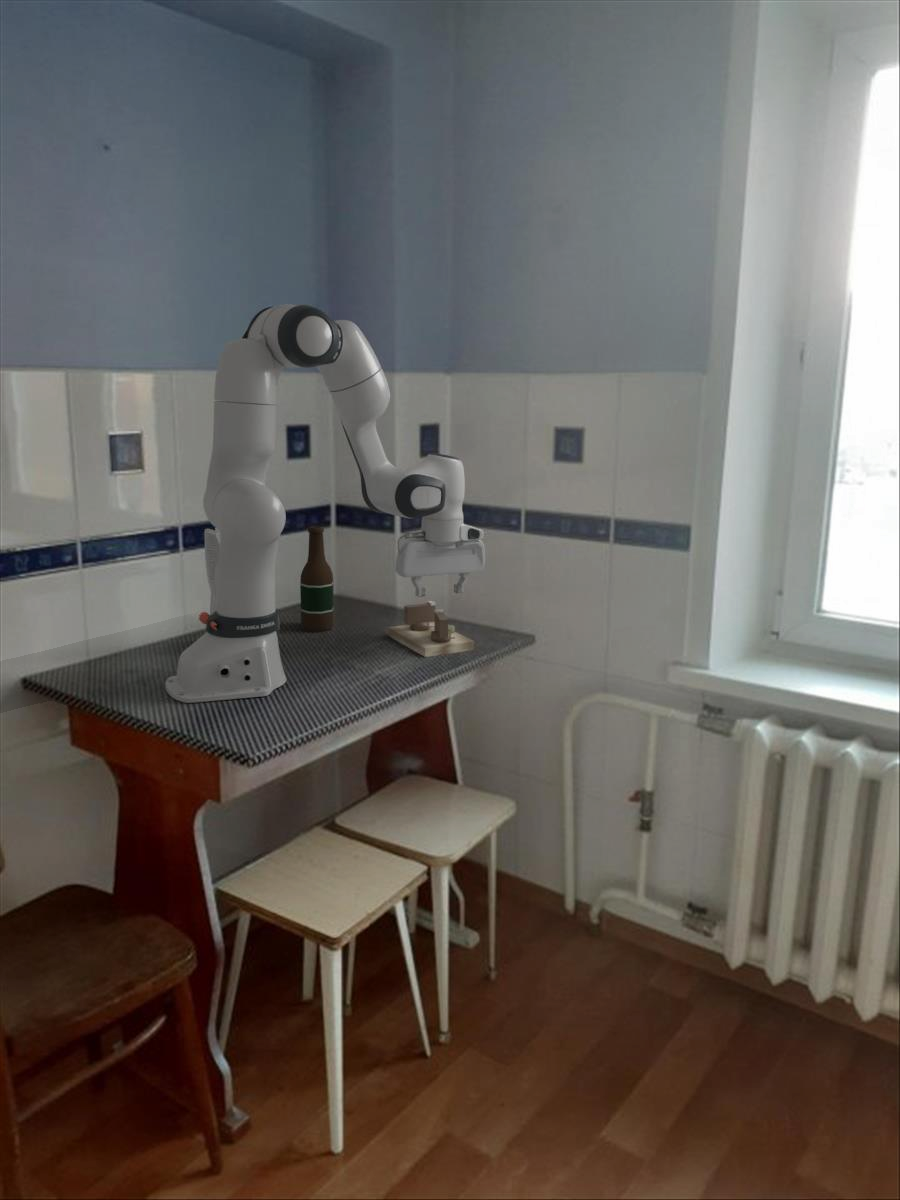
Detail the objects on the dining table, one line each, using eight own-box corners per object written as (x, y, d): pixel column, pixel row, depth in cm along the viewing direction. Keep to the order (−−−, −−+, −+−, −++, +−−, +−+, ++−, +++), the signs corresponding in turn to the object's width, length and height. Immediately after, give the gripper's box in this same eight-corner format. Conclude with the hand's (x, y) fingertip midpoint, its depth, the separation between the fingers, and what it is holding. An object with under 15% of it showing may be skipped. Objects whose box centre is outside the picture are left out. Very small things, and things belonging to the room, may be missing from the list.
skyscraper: (251, 643, 206) (247, 517, 199) (239, 653, 198) (234, 523, 191) (214, 641, 206) (208, 516, 199) (201, 652, 198) (195, 522, 192)
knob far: (410, 632, 207) (410, 607, 206) (401, 627, 211) (401, 602, 210) (437, 628, 211) (438, 603, 209) (428, 624, 215) (429, 599, 213)
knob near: (453, 643, 200) (454, 617, 198) (433, 644, 199) (434, 618, 197) (448, 634, 206) (448, 609, 205) (428, 635, 205) (428, 609, 204)
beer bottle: (338, 630, 215) (337, 528, 209) (305, 633, 212) (303, 530, 206) (329, 622, 222) (328, 523, 216) (297, 625, 219) (295, 524, 213)
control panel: (425, 657, 197) (425, 640, 196) (388, 635, 212) (388, 620, 211) (474, 649, 203) (474, 634, 202) (434, 629, 218) (434, 614, 217)
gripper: (405, 535, 189) (403, 601, 192) (490, 531, 199) (487, 594, 202) (391, 530, 194) (389, 595, 197) (475, 526, 204) (472, 587, 207)
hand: (439, 594), depth 200 cm, fingers open, 8 cm apart
